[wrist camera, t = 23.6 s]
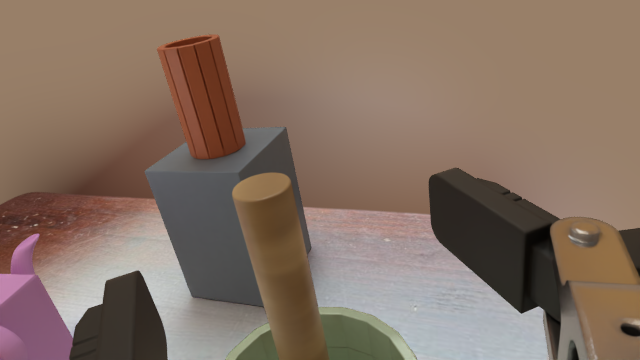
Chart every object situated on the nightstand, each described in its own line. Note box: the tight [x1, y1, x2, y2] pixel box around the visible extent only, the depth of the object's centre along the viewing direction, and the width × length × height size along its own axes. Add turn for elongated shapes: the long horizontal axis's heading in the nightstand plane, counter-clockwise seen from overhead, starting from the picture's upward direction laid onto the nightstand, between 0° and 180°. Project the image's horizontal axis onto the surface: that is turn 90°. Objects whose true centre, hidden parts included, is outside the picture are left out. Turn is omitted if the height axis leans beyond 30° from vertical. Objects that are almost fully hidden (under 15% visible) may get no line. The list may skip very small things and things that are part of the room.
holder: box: [145, 35, 311, 307], centre depth 35 cm, size 8×8×20 cm
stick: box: [232, 173, 330, 360], centre depth 20 cm, size 2×2×16 cm
